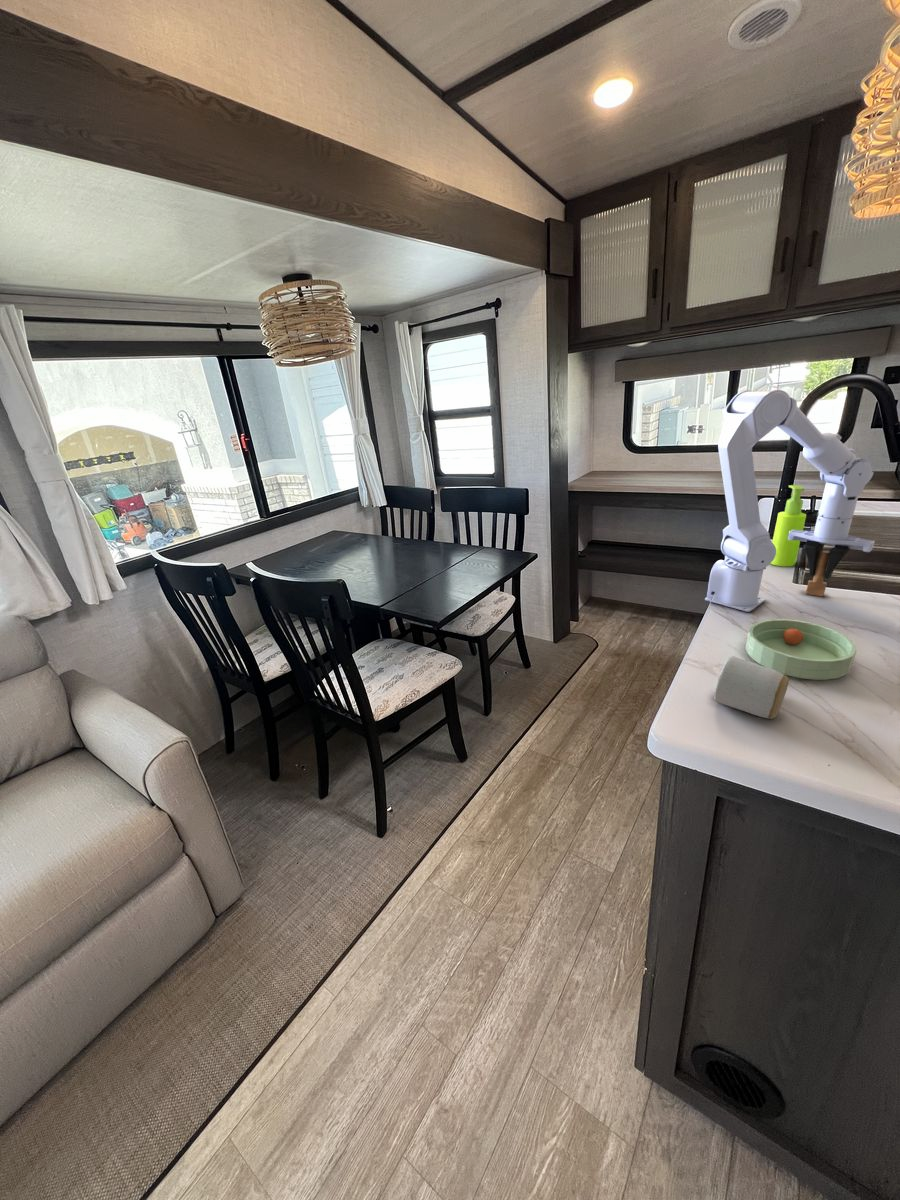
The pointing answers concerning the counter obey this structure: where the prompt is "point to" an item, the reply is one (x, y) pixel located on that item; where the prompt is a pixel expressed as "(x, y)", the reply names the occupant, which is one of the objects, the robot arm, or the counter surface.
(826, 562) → the brown handled stamp
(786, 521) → the soap dispenser
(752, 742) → the counter surface
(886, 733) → the counter surface
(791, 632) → the ball
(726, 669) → the ceramic mug
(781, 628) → the bowl
